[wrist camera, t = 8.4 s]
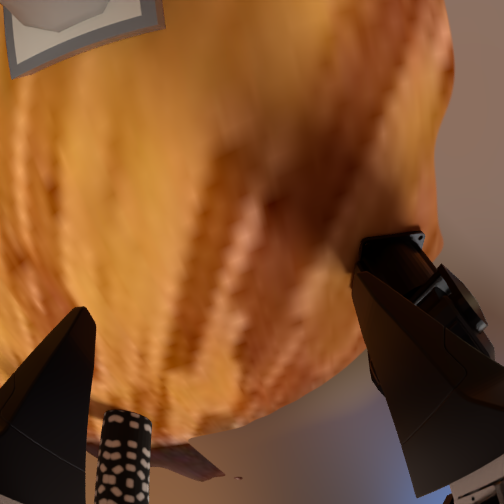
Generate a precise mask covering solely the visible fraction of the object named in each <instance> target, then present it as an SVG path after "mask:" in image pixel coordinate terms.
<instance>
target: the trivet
mask: <svg viewBox="0 0 504 504" xmlns="http://www.w3.org/2000/svg"><path fill="white" fill-rule="evenodd" d="M3 8H4V25H5V36H6V46H7V54H8V61H9V67H10V74H11V79H16V78H20V77H24V76H28V75H32V74H34V73H36V72H38V71H40V70H42V69H44V68H46V67H49V66H51V65H53V64H55V63H58V62H60V61H63V60H65V59H67V58H70V57H72V56H75V55H78V54H80V53H83V52H86V51H88V50H91V49H94V48H97V47H100V46H103V45H106V44H109V43H112V42H115V41H119V40H122V39H126V38H129V37H133V36H136V35H140V34H144V33H148V32H152V31H157V30H161V29H166V27H165V19H164V11H163V2H162V0H109V2H108V4H107V6H106V8H105V10H104V12H103V13H102V14H99V15H97V16H94V17H92V18H89V19H87V20H85V21H82V22H80V23H78V24H76V25H74V26H71V27H69V28H67V29H65V30H63V31H61V32H59V33H58V32H53V31H49V30H44V29H38V28H33V27H27V26H24V25H23V24H22V23H20V22H19V21H18V20H17V19H16V18H15V16H14V15H13V14H12V13H11V12H10V11H9V10H8V9H7V8H6V7H4V6H3Z"/></svg>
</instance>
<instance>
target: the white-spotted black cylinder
mask: <svg viewBox="0 0 504 504" xmlns="http://www.w3.org/2000/svg"><path fill="white" fill-rule="evenodd" d="M151 432H152V422H151V421H150V420H149V419H147V418H145V417H144V416H141V415H139V414H136V413H132V412H128V411H122V410H110V411H107V412H105V414H104V418H103V425H102V432H101V439H100V447H99V455H98V465H97V475H96V486H95V499H94V504H149V471H150V450H151Z"/></svg>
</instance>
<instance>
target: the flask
mask: <svg viewBox="0 0 504 504" xmlns="http://www.w3.org/2000/svg"><path fill="white" fill-rule="evenodd" d="M108 2H109V0H0V3H1V4H2V5H3V6H4V7H6V8H7V9H8V10H9V11H10V12H11V13H12V14H13V15H14V16H15V18H16V19H17V20H18V21H19V22H20V23H22V24H23V25H24V26H27V27H33V28H38V29H44V30H49V31H53V32H58V33H59V32H61V31H63V30H65V29H67V28H69V27H71V26H74V25H76V24H78V23H80V22H82V21H85V20H87V19H89V18H92V17H94V16H97V15H99V14H102V13H103V12H104V10H105V8H106V6H107V4H108Z"/></svg>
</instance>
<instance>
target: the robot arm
mask: <svg viewBox="0 0 504 504" xmlns="http://www.w3.org/2000/svg"><path fill="white" fill-rule="evenodd" d="M419 236H420V237H419ZM424 239H425V234H424V233H423V232H422V231H414V232H407V233H399V234H391V235H384V236H376V237H368V238H364V239H363V240H362V241H361V244H360V251H359V258H358V261H357V263H356V266H355V273H354V279H353V287H352V299H353V303H354V306H355V310H356V313H357V317H358V321H359V324H360V328H361V332H362V335H363V339H364V341H365V344H366V347H367V350H368V358H369V367H370V374H371V379H372V381H373V382H374V384H375V385H376V387H377V388H378V390H379V391H380V392H381V393H382V394H383V395H384V396H385V398H386V401H387V404H388V407H389V410H390V412H391V416H392V419H393V422H394V425H395V427H396V431H397V434H398V437H399V440H400V443H401V445H402V450H403V453H404V456H405V460H406V463H407V467H408V470H409V474H410V477H411V481H412V484H413V488H414V492H415V494H416V497H417V498H419V497H422V496H424V495H426V494H429V493H431V492H434V491H436V490H438V489H440V488H442V487H445V486H447V485H450V488H451V491H452V493H451V494H449V495H447V497H446V499H445V501H444V502H443V504H504V366H502V365H500V364H499V363H497V362H496V361H495V351H494V347H493V345H492V343H491V342H490V340H489V338H488V337H487V335H486V334H485V333H484V331H483V330H484V329H485V328H486V327H487V326H488V323H487V321H486V319H485V317H484V314H483V312H482V310H481V308H480V306H479V304H478V302H477V300H476V299H475V298H474V296H473V295H472V294H471V292H470V291H469V290H468V289H467V288H466V286H465V285H464V284H463V283H462V282H461V281H460V280H459V279H458V278H457V277H456V276H455V275H454V274H453V273H452V272H450V271H449V270H448V269H447V268H446V267H445V266H444V265H443V264H441V265H440V266H439V267H438V268H436V267H435V266H434V265H433V263H432V262H431V261H430V259H429V258H428V257H427V256H426V254H425V253H424V252H423V251H422V246H423V243H424ZM366 243H368V244H367V245H365V244H366ZM95 340H96V324H95V321H94V320H93V318H92V316H91V315H90V313H89V311H88V310H87V308H86V307H84V306H82V307H75V308H73V309H72V310H71V311H70V312H69V313H68V314H67V315H66V316H65V317H64V319H63V320H62V321H61V322H60V323H59V324H58V325H57V326H56V327H55V328H54V329H53V330H52V331H51V332H50V333H49V334H48V335H47V336H46V337H45V339H44V340H43V341H42V342H41V343H40V344H39V345H38V346H37V347H36V348H35V349H34V350H33V352H32V353H31V354H30V355H29V356H28V357H27V358H26V359H25V361H24V362H23V363H22V364H21V365H20V366H19V367H18V369H17V370H16V371H15V373H13V374H12V375H11V377H10V378H9V379H8V380H7V381H6V382H5V384H4V385H3V386H2V387H1V388H0V504H86V503H85V502H86V501H85V462H86V461H85V459H86V439H87V425H88V413H89V403H90V394H91V386H92V378H93V370H94V357H95Z"/></svg>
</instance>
